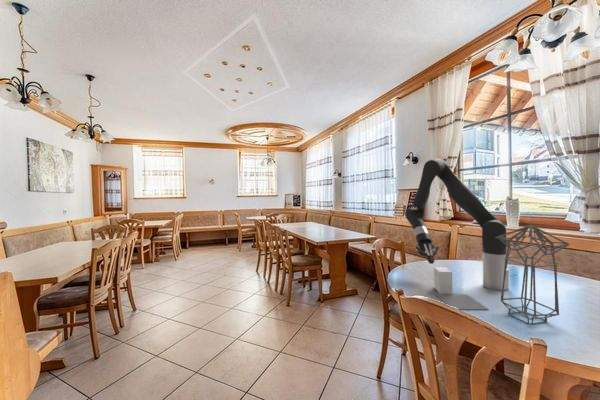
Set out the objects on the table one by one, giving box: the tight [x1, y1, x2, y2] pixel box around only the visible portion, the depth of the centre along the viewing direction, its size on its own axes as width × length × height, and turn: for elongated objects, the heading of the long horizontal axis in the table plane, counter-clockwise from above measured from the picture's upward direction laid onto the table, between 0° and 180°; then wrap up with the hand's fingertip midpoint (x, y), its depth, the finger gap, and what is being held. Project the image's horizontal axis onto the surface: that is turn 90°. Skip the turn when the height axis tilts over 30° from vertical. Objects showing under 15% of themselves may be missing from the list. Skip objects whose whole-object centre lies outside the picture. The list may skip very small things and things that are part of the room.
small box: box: [433, 266, 454, 294], centre depth 121 cm, size 8×6×10 cm
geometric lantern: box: [496, 225, 570, 325], centre depth 92 cm, size 16×16×35 cm
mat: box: [434, 293, 489, 311], centre depth 108 cm, size 14×15×1 cm
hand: (431, 263), depth 131 cm, fingers closed
